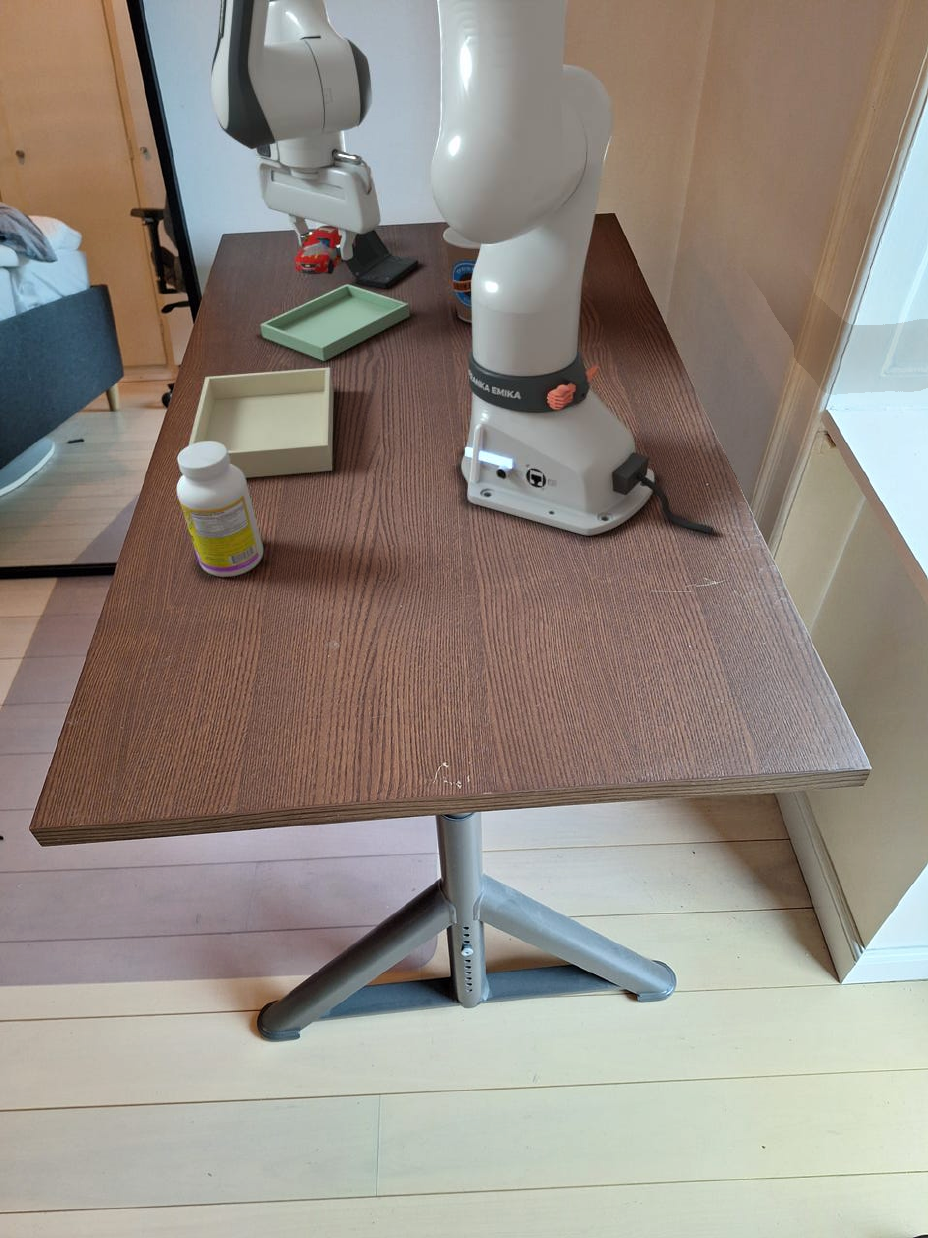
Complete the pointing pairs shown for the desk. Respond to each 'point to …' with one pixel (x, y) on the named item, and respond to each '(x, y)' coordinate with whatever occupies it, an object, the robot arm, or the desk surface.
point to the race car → (320, 252)
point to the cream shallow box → (270, 420)
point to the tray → (335, 321)
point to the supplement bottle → (218, 510)
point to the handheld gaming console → (377, 262)
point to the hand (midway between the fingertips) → (325, 252)
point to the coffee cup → (461, 270)
